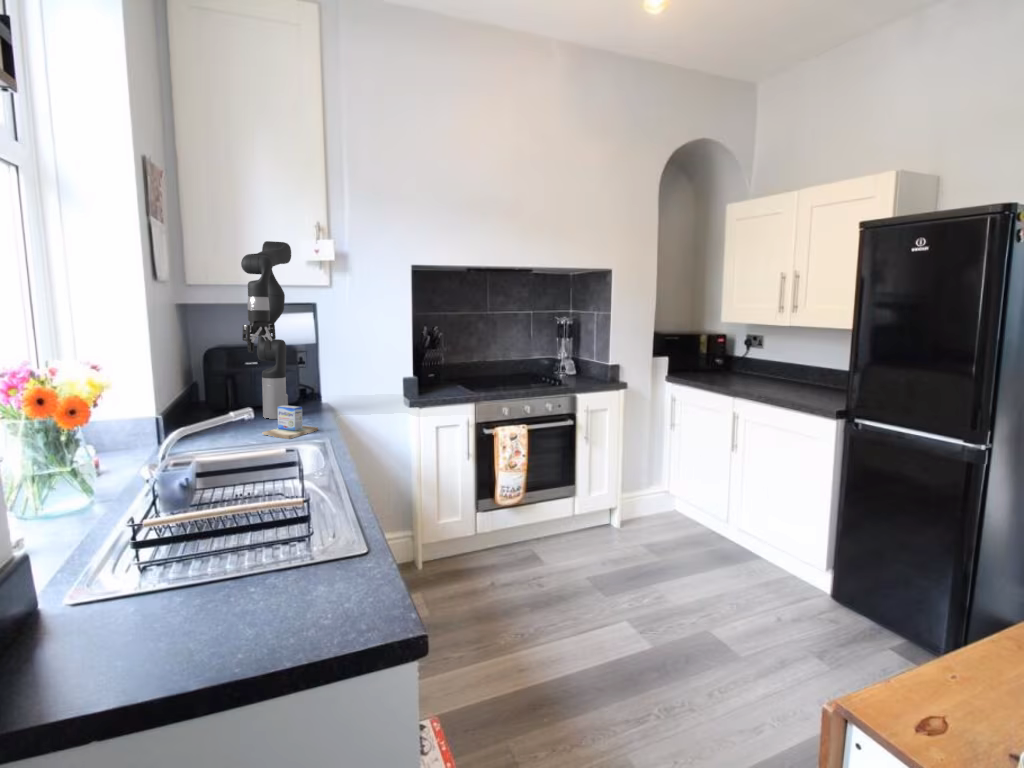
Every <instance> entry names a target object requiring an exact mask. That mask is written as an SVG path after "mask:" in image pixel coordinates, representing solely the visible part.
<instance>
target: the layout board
mask: <svg viewBox="0 0 1024 768" xmlns="http://www.w3.org/2000/svg"><path fill="white" fill-rule="evenodd" d="M317 430H318V431H319V427H316V426H310V425H309V426H308V425H302V429H300V430H297V431H291V430H282V429H278V427H277V428H274V429H270V430H265V431H262V432H261V433H262V434H264V435H270V436H274V437H273V438H278V437H279V439H287V440H290V439H293V438H297V437H301V436H303V435H307V433H308V434H310V433H314V431H315V432H317ZM270 436H269V437H270Z"/></svg>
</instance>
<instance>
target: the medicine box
mask: <svg viewBox="0 0 1024 768" xmlns="http://www.w3.org/2000/svg"><path fill="white" fill-rule="evenodd" d="M302 426H303V407H302V406H296V405H288V406H287V405H283V406H279V407H278V419H277V428H278V429H282V430H291V431H297V430H300V429H302Z"/></svg>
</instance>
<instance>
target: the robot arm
mask: <svg viewBox="0 0 1024 768" xmlns="http://www.w3.org/2000/svg"><path fill="white" fill-rule="evenodd" d="M261 249H262V250H261V251H260V252H258V253H248V254H246V255H244V256H243V257H242V259H241V263H240V265H241V268H242V271H243V272H245V273H246V274H247V275H248V274H249V275H260V277H259V279H255V280H250V281H248V283H247V321H248V322H249V324H243V325H242V335H241V336H242V337H241V338H242V342H243V341H244V342H247V352H248V353H255V342H254V341H255V340H256V338H258V339H257V344H256V345H257V347H256V355H257V358H258V360H260V361H261V362H275V364H274V365H273V366H272V367H270V368H269V367H268V368H266V369H263V370H262V372H261V385H262V386H261V388H262V392H261V393H262V418H263V417H264V418H263V419H266V418H269V419H268V420H278V407H279V406H283V405H287V406H289V395H288V394H287V382H286V381H287V378H286V375H287V374H286V372H287V343H286V342H285V340H283V339H277V338H276V337H277V336H276V325H275V323H276V322H277V321H278V320H279V318H281V315H282V314H283V312H284V310H285V297H286V296H285V292H284V290H283V288H282V286H281V285H280V283H279V282H278V280H277V278H276V276H275V275H274V271H273V268H274V267H276V266H278V265H286V264H289V263H290V262H291V259H292V248H291V246H290V244H289V243H288V242H284V241H272V240H271V241H269V240H268V241H264V242H263V244H262V247H261Z"/></svg>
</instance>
